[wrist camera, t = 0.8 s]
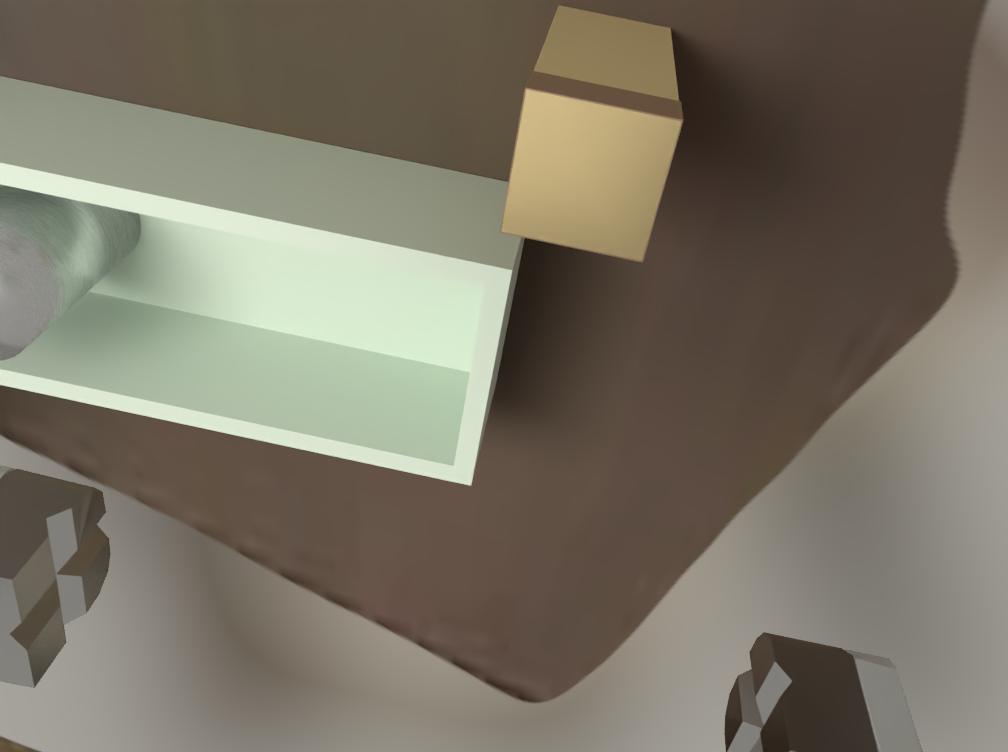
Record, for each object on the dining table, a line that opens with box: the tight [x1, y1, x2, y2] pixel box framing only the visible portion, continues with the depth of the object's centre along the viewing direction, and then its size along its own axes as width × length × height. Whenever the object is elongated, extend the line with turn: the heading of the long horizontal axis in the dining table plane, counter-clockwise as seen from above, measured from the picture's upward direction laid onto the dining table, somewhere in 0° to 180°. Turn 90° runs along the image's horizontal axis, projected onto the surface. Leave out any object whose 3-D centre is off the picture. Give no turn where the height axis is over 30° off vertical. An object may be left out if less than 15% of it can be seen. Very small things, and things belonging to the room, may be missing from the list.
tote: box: [0, 76, 525, 486], centre depth 43 cm, size 12×28×9 cm, turn 80°
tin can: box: [0, 186, 141, 361], centre depth 42 cm, size 6×6×10 cm
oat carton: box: [500, 5, 683, 262], centre depth 34 cm, size 5×5×13 cm
